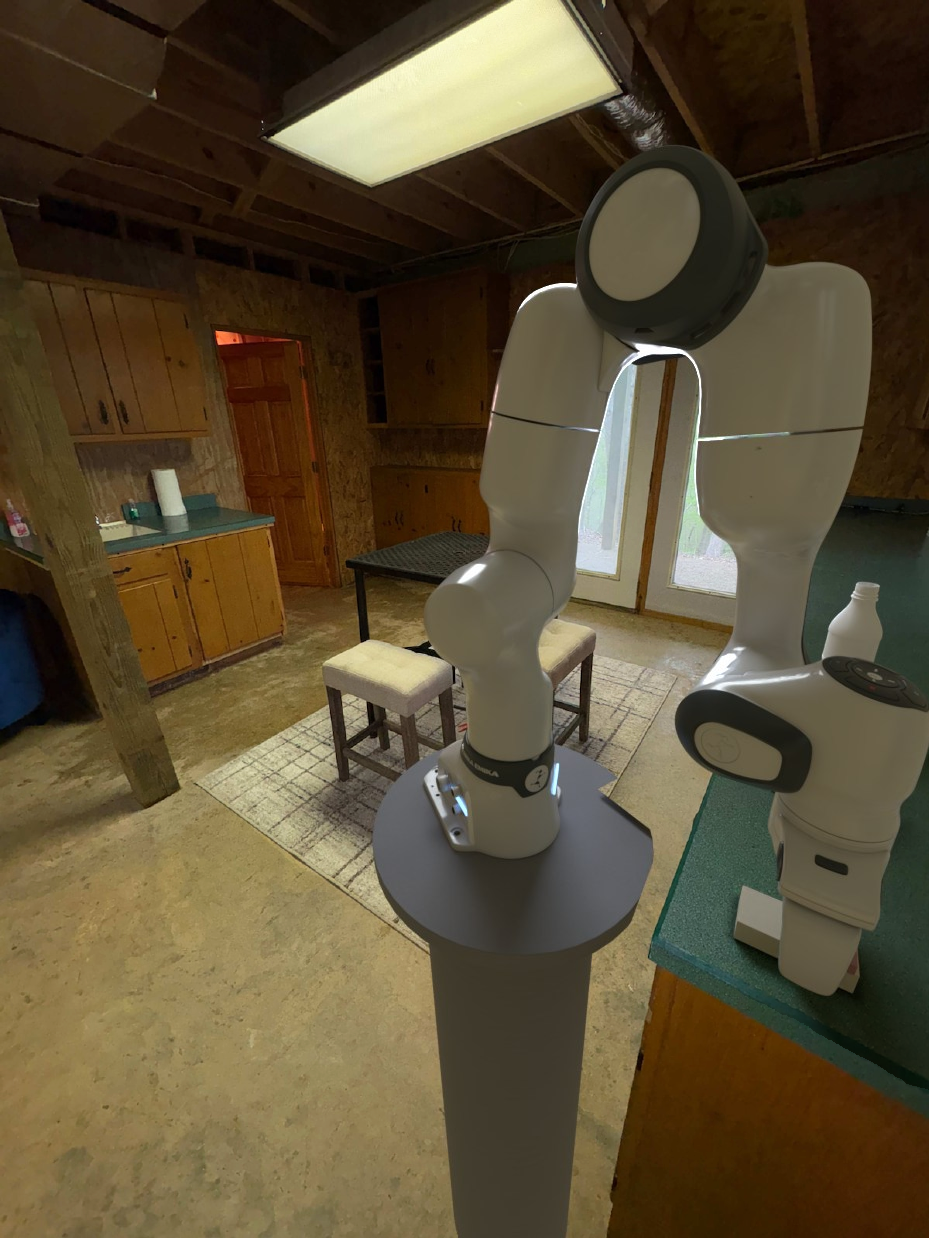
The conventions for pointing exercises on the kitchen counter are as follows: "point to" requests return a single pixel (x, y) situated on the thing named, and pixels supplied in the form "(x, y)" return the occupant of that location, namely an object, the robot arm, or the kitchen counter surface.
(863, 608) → the water bottle
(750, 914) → the cream rectangular block
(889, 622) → the kitchen counter surface
